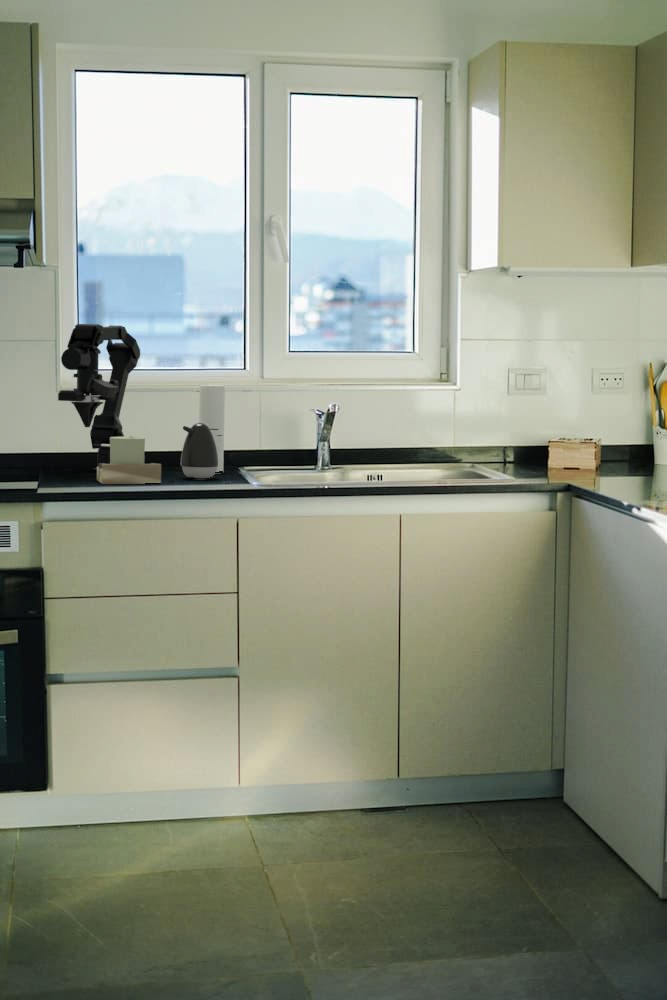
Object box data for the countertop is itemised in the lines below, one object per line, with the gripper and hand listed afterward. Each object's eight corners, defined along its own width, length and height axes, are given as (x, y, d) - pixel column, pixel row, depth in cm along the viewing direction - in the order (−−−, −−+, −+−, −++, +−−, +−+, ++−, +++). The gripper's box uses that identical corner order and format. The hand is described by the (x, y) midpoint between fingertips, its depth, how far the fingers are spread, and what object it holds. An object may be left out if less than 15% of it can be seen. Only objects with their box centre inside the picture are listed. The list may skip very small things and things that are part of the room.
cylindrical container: (195, 471, 356) (196, 385, 353) (218, 471, 359) (219, 385, 356) (203, 473, 349) (204, 385, 346) (226, 473, 352) (228, 386, 349)
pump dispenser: (172, 477, 334) (173, 422, 332) (205, 476, 341) (205, 421, 339) (192, 481, 326) (193, 424, 325) (225, 479, 333) (226, 423, 331)
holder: (96, 480, 322) (96, 461, 321) (153, 479, 327) (153, 461, 326) (102, 484, 312) (102, 464, 311) (161, 483, 317) (161, 464, 316)
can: (119, 483, 314) (120, 437, 312) (102, 480, 321) (103, 435, 320) (151, 482, 319) (151, 436, 318) (134, 479, 327) (134, 434, 325)
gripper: (90, 370, 323) (90, 429, 324) (132, 371, 339) (131, 427, 341) (56, 369, 327) (56, 427, 329) (99, 370, 344) (99, 425, 346)
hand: (87, 427), depth 336 cm, fingers closed
